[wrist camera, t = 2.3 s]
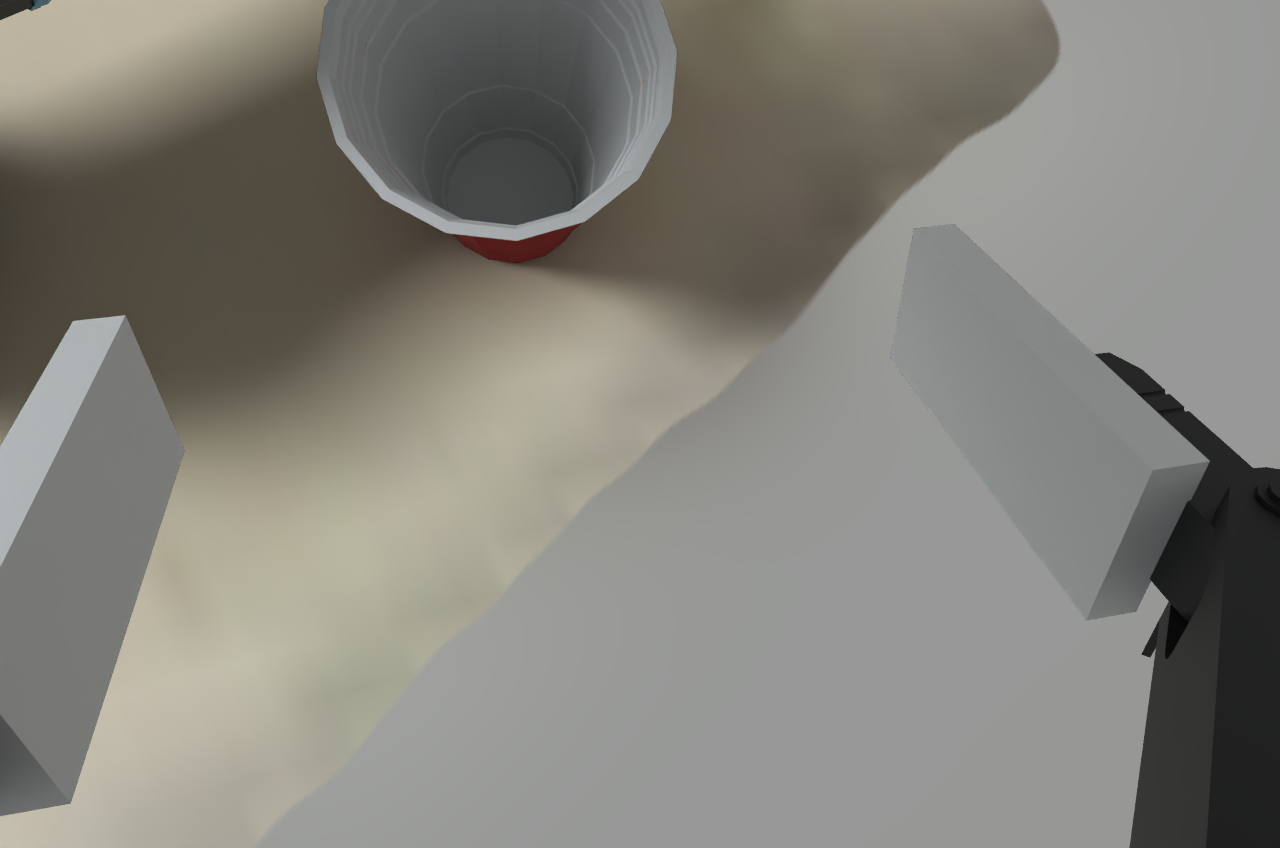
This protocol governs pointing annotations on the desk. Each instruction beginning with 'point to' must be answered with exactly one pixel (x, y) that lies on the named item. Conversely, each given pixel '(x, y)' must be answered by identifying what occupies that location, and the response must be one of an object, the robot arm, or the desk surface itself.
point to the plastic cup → (498, 109)
